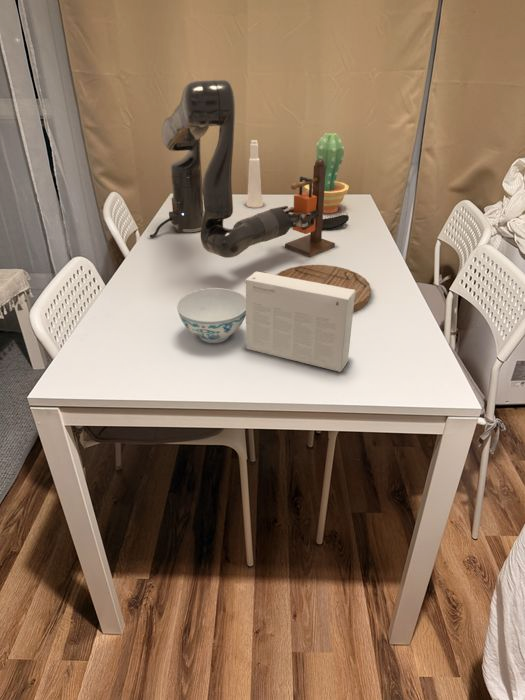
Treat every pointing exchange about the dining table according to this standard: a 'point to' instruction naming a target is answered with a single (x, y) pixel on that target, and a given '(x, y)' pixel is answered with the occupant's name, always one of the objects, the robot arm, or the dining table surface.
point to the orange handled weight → (305, 205)
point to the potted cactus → (331, 171)
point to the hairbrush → (334, 222)
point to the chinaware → (212, 313)
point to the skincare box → (299, 320)
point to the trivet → (333, 279)
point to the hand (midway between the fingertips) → (310, 211)
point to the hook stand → (314, 241)
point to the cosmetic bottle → (254, 178)
